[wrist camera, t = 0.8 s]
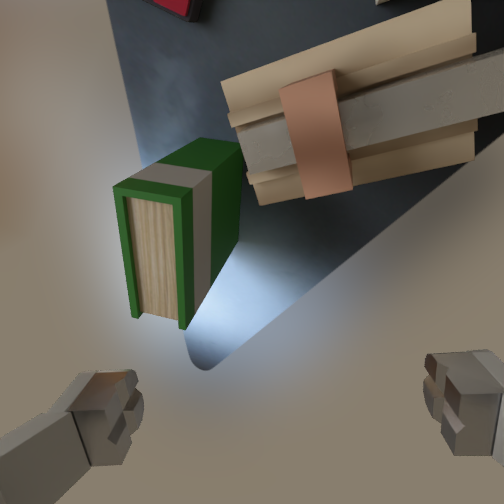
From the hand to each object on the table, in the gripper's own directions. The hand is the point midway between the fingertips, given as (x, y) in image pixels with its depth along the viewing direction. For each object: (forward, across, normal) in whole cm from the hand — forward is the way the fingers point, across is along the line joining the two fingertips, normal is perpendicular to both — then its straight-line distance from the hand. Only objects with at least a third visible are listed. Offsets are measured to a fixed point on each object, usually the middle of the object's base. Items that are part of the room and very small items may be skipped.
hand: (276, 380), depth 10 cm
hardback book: (+50, +9, +2) cm, 51 cm away
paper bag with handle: (+44, -11, -11) cm, 46 cm away
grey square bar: (+17, -10, -8) cm, 22 cm away
